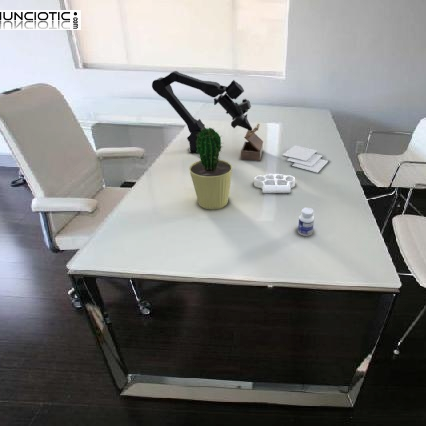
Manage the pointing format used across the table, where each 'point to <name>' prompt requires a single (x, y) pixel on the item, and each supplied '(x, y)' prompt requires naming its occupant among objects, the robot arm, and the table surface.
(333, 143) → the table surface
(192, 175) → the potted cactus
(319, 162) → the paper stack
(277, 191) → the white brass knuckles
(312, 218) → the pill bottle
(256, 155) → the box
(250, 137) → the lid
